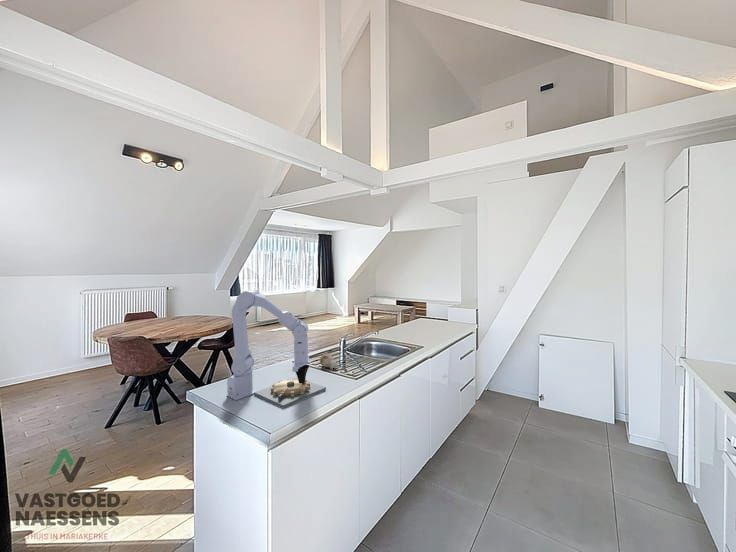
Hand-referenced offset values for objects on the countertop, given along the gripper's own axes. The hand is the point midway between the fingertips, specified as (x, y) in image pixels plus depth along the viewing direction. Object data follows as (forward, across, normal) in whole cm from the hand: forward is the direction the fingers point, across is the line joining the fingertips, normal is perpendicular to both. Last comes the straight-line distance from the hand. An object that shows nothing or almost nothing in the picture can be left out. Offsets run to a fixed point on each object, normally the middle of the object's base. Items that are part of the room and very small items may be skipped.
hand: (301, 382), depth 131 cm
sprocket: (+3, -1, +5) cm, 5 cm away
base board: (+4, -1, +5) cm, 6 cm away
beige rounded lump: (+4, +34, -2) cm, 35 cm away
